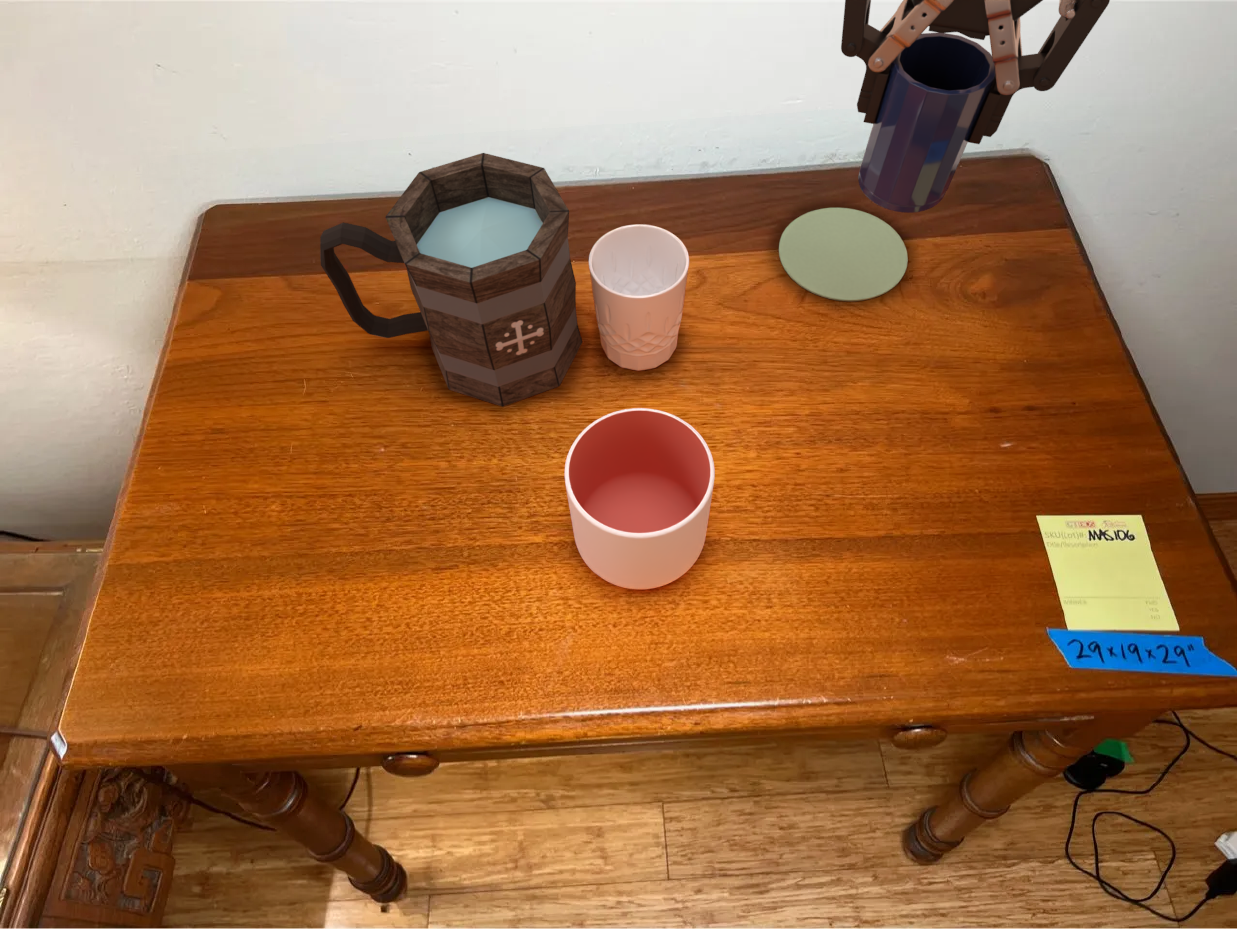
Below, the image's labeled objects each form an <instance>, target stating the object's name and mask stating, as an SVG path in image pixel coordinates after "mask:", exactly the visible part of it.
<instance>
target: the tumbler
mask: <svg viewBox="0 0 1237 929" xmlns="http://www.w3.org/2000/svg"><path fill="white" fill-rule="evenodd" d="M994 79H995V66H994V63H993V60H992V53H991V52H990V51H988V50H987V49H986V48H984V47H983V46H982V45H981V44H980V43H978V42H976V41H973V40H971V39H969V38H968V37H964V36H962V35H958V34H952V33H938V32H927V33H925V32H923V33H922V34H921V35H920V36H919V37H918V38H917V39H916V40H915V41H914V42H913V44H912V45H911V46H910V47H908V48H905V49H904V50H903V51H902V52H901V53H900V54H899V55H898V56H897V57H896V59H895V60H894V61H893V62H892V63H891V67H890V72H889V75H888V79H887V82H886V85H885V89H884V92H883V96H882V99H881V102H880V106H879V109H878V112H877V116H876V119H875V122H874V124H872V127H871V130H870V133H869V136H868V140H867V144H866V147H865V150H864V154H863V156H862V160H861V164H860V168H859V171H858V175H857V180H858V185H859V188H860V190H861V192H862V193H863V194H864V196H865V197H866V198H868V199H869V201H871V202H873V204H875V205H877V206H879V207H881V208H883V209H886V210H888V211H892V212H897V213H905V214H913V213H920V212H925V211H928V210H930V209H932V208H934V207H935V206H937V205H938V204H939V203H941V201H942V200H943V199H944V198H945V195H946V193H947V191H948V190H949V188H950V185H951V183H952V181H953V178H954V176H955V174H956V171H957V168H958V166H959V164H960V161H961V159H962V157H963V154H964V152H965V149H966V147H967V145H968V143H969V142H968V140H969V138H970V135H971V133H972V130H973V128H974V126H975V123H976V121H977V119H978V116H979V114H980V111H981V109H982V107H983V104H984V102H985V99H986V97H987V95H988V92H989V90H990V88H991V86H992V83H993V81H994Z"/></svg>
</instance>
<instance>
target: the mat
mask: <svg viewBox="0 0 1237 929" xmlns="http://www.w3.org/2000/svg"><path fill="white" fill-rule="evenodd" d="M778 257H779V261H780V263H781V266H782V268H783V269H784V271H785V272H786V274H787V275H788V276H789V278H791V280H792V281H794V282H795V283H796V284H797V285H798V286H800V287H801V288H802V289H804V290H806V291H808V292H809V293H812V294H814V295H816V296H819V297H821V298H825V299H828V300H832V301H840V302H861V301H867V300H871V299H874V298H877V297H880V296H883V295H885V294H886V293H889V291H891V290H892V289H894V288H895V287H896V286H897V285H898V284H899V282H901V280H902V279H903V277H904V275H905V273H906V271H907V267H908V263H909V262H908V260H909V259H908V251H907V247H906V245H905V243H904V241H903V239H902V237H901V236H900V235H899V234H898V232H897V231H896V230H895V229H894V228H893V227H892V226H891V225H889V224H888V223H887V222H885V221H884V220H883V219H881V218H879V217H877V216H875V215H873V214H871V213H869V212H868V213H867V212H865V211H863V210H858V209H854V208H848V207H825V208H820V209H815V210H811V211H808V212H806V213H804V214H802V215H800V216H799V217H797V218H795V219H794V220H792V221H791V222H790V223H789V224H788V225H787V226H786V227H785V229H784V230H783V232H782V234H781V236H780V239H779V243H778Z"/></svg>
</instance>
